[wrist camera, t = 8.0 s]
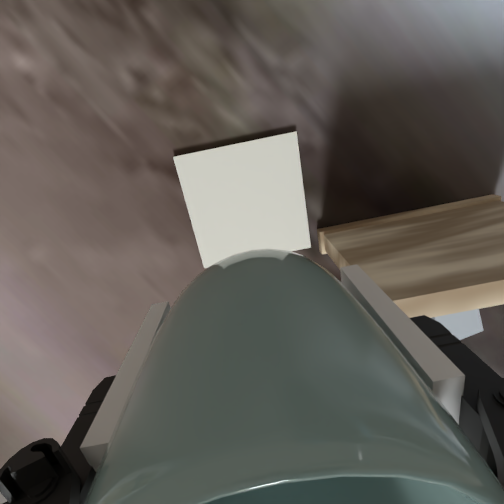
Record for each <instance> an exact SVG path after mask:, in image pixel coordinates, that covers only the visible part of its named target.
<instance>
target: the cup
mask: <svg viewBox="0 0 504 504" xmlns="http://www.w3.org/2000/svg"><path fill="white" fill-rule="evenodd" d="M84 504H504V488H503V487H502V485H501V483H500V482H499V480H498V479H497V477H496V476H495V475H494V473H493V472H492V470H491V469H490V467H489V466H488V464H487V463H486V461H485V460H484V458H483V457H482V456H481V454H480V453H479V451H478V450H477V449H476V447H475V446H474V445H473V443H472V442H471V441H470V439H469V438H468V437H467V435H466V434H465V432H464V431H463V430H462V428H461V427H460V426H459V425H458V423H457V422H456V421H455V419H454V418H453V417H452V415H451V414H450V413H449V412H448V410H447V409H446V408H445V406H444V405H443V404H442V402H441V401H440V400H439V399H438V397H437V396H436V395H435V394H434V392H433V391H432V390H431V388H430V387H429V386H428V385H427V383H426V382H425V381H424V379H423V378H422V377H421V376H420V374H419V373H418V372H417V371H416V369H415V368H414V367H413V365H412V364H411V363H410V362H409V360H408V359H407V358H406V357H405V355H404V354H403V353H402V351H401V350H400V349H399V348H398V346H397V345H396V344H395V343H394V341H393V340H392V339H391V338H390V337H389V335H388V334H387V333H386V332H385V330H384V329H383V328H382V327H381V326H380V324H379V323H378V322H377V321H376V320H375V318H374V317H373V316H372V315H371V314H370V312H369V311H368V310H367V309H366V308H365V307H364V306H363V305H362V304H361V302H360V301H359V300H358V299H357V298H356V297H355V296H354V295H353V294H352V293H351V292H350V291H349V290H348V289H347V288H346V287H345V286H344V285H343V284H342V283H341V282H340V281H339V280H338V279H337V278H336V277H335V276H334V275H332V274H331V273H330V272H329V271H328V270H326V269H325V268H324V267H322V266H320V265H319V264H317V263H315V262H314V261H312V260H310V259H309V258H307V257H305V256H303V255H300V254H297V253H294V252H290V251H287V250H280V249H268V248H266V249H255V250H248V251H244V252H241V253H237V254H233V255H231V256H229V257H227V258H224V259H222V260H220V261H218V262H216V263H214V264H213V265H211V266H210V267H208V268H207V269H205V270H204V271H202V272H201V273H200V274H199V275H198V276H197V277H195V278H194V279H193V280H192V281H191V282H190V283H189V284H188V285H187V287H186V288H185V289H184V290H183V291H182V292H181V293H180V295H179V296H178V298H177V299H176V301H175V302H174V304H173V306H172V307H171V309H170V310H169V312H168V314H167V315H166V317H165V319H164V320H163V322H162V324H161V326H160V328H159V329H158V331H157V333H156V335H155V337H154V339H153V341H152V343H151V345H150V347H149V349H148V352H147V354H146V356H145V358H144V360H143V363H142V365H141V367H140V369H139V372H138V374H137V376H136V379H135V381H134V383H133V386H132V388H131V390H130V393H129V395H128V397H127V400H126V402H125V405H124V407H123V409H122V412H121V414H120V416H119V419H118V421H117V424H116V426H115V428H114V431H113V433H112V436H111V438H110V441H109V443H108V445H107V448H106V450H105V453H104V455H103V458H102V460H101V462H100V465H99V467H98V470H97V472H96V475H95V477H94V480H93V482H92V485H91V487H90V490H89V492H88V495H87V498H86V500H85V503H84Z"/></svg>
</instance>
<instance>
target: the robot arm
mask: <svg viewBox="0 0 504 504" xmlns="http://www.w3.org/2000/svg"><path fill="white" fill-rule="evenodd" d="M340 271H341V282H342V284H343V285H344V286H345V287H346V288H347V289H348V290H349V291H350V292H351V293H352V294H353V295H354V296H355V297H356V298H357V299H358V300H359V301H360V302H361V304H362V305H363V306H364V307H365V308H366V309H367V310H368V311H369V312H370V314H371V315H372V316H373V317H374V318H375V320H376V321H377V322H378V323H379V324H380V326H381V327H382V328H383V329H384V330H385V332H386V333H387V334H388V335H389V337H390V338H391V339H392V340H393V341H394V343H395V344H396V345H397V346H398V348H399V349H400V350H401V351H402V353H403V354H404V355H405V357H406V358H407V359H408V360H409V362H410V363H411V364H412V365H413V367H414V368H415V369H416V371H417V372H418V373H419V374H420V376H421V377H422V378H423V379H424V381H425V382H426V383H427V385H428V386H429V387H430V388H431V390H432V391H433V392H434V394H435V395H436V396H437V397H438V399H439V400H440V401H441V402H442V404H443V405H444V406H445V408H446V409H447V410H448V412H449V413H450V414H451V415H452V417H453V418H454V419H455V421H456V422H457V423H458V425H459V426H460V427H461V428H462V430H463V431H464V432H465V434H466V435H467V437H468V438H469V439H470V441H471V442H472V443H473V445H474V446H475V447H476V449H477V450H478V451H479V453H480V454H481V456H482V457H483V458H484V460H485V461H486V463H487V464H488V466H489V467H490V469H491V470H492V472H493V473H494V475H495V476H496V477H497V479H498V480H499V482H500V483H501V485H502V487H503V488H504V378H501V377H500V376H499V375H498V374H497V373H496V372H494V371H493V370H492V369H491V368H490V367H489V366H488V365H487V364H486V363H484V362H483V361H482V360H481V359H480V358H479V357H478V356H477V355H476V354H474V353H473V352H472V351H471V350H470V349H469V348H468V347H467V346H466V345H464V344H462V343H461V341H460V340H459V339H458V338H457V337H455V336H454V335H452V334H451V332H450V331H449V330H448V329H447V328H445V327H444V326H443V325H442V324H441V323H440V322H438V321H436V320H434V319H432V318H430V317H427V316H425V315H422V316H417V317H412V318H409V317H408V316H407V315H406V314H405V313H404V312H403V311H402V310H401V309H400V308H399V307H398V306H397V305H396V304H395V303H394V302H393V301H392V300H391V299H390V298H389V297H388V296H387V295H386V294H385V293H384V292H383V290H382V289H381V288H380V287H379V286H378V285H377V284H376V283H375V282H374V281H373V280H372V279H371V278H370V277H369V276H368V275H367V274H366V273H365V272H364V271H363V270H362V269H361V268H360V267H359V266H358V265H357V264H356V265H351V266H346V267H340ZM170 309H171V308H170V305H169V302H163V303H158V304H153V305H151V307H150V309H149V311H148V313H147V315H146V317H145V319H144V321H143V323H142V325H141V327H140V329H139V331H138V333H137V335H136V337H135V339H134V341H133V343H132V345H131V347H130V349H129V351H128V353H127V355H126V357H125V359H124V361H123V363H122V365H121V367H120V369H119V371H118V373H117V375H116V376H111V377H105V378H104V379H103V380H102V381H101V382H100V384H99V385H98V386H97V387H96V388H95V389H94V390H93V391H92V393H91V395H90V397H89V398H88V400H87V402H86V406H84V407H83V409H82V411H81V412H80V414H79V418H77V420H76V421H75V423H74V425H73V427H72V428H71V430H70V432H69V434H68V435H67V437H66V439H65V441H64V442H63V444H62V446H61V447H60V445H59V444H58V442H57V441H55V440H54V439H53V438H44V439H41V440H38V441H35V442H32V443H31V444H29V445H27V446H26V447H24V448H22V449H21V450H20V451H18V452H17V453H16V454H15V455H14V456H12V457H11V458H10V459H9V460H8V461H7V462H6V463H5V465H4V466H3V467H2V468H1V469H0V492H1V493H2V494H3V496H4V497H5V498H6V499H7V502H5V503H3V504H84V503H85V500H86V498H87V495H88V492H89V490H90V487H91V485H92V482H93V480H94V477H95V475H96V472H97V470H98V467H99V465H100V462H101V460H102V458H103V455H104V453H105V450H106V448H107V445H108V443H109V441H110V438H111V436H112V433H113V431H114V428H115V426H116V424H117V421H118V419H119V416H120V414H121V412H122V409H123V407H124V405H125V402H126V400H127V397H128V395H129V393H130V390H131V388H132V386H133V383H134V381H135V379H136V376H137V374H138V372H139V369H140V367H141V365H142V363H143V360H144V358H145V356H146V354H147V352H148V349H149V347H150V345H151V343H152V341H153V339H154V337H155V335H156V333H157V331H158V329H159V328H160V326H161V324H162V322H163V320H164V319H165V317H166V315H167V314H168V312H169V310H170Z"/></svg>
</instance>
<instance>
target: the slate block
mask: <svg viewBox="0 0 504 504" xmlns="http://www.w3.org/2000/svg"><path fill="white" fill-rule="evenodd" d="M432 319H434V320H436V321H438V322H440V323H441V324H442V325H443V326H444V327H445V328H447V329H448V330H449V331H450V332H451V334H452V335H454V336H455V337H457V338H458V339H459V340H461V339H463V338H466V337H469V336H471V335H474V334H476V333H479V332H481V331H483V327H482V322H481V317H480V313H479V309H475V310H470V311H464V312H459V313H454V314H448V315H443V316H438V317H432Z"/></svg>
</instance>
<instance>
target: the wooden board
mask: <svg viewBox="0 0 504 504" xmlns="http://www.w3.org/2000/svg"><path fill="white" fill-rule="evenodd" d="M317 233H318V242H319V251H320V252H321V253H322V254H328V255H329V256H330V257H331V259H332V260H333V261H334V263H335V264H336V265H337V266H338V268H339V269H340V267H346V266H351V265H356V264H357V265H358V266H359V267H360V268H361V269H362V270H363V271H364V272H365V273H366V274H367V275H368V276H369V277H370V278H371V279H372V280H373V281H374V282H375V283H376V284H377V285H378V286H379V287H380V288H381V289H382V290H383V292H384V293H385V294H386V295H387V296H388V297H389V298H390V299H391V300H392V301H393V302H394V303H395V304H396V305H397V306H398V307H399V308H400V309H401V310H402V311H403V312H404V313H405V314H406V315H407V316H408V317H409V318H412V317H417V316H422V315H425V316H427V317H430V318H432V317H438V316H443V315H448V314H454V313H459V312H464V311H470V310H475V309H480V308H485V307H491V306H496V305H501V304H504V202H502V201H501V196H498V195H493V194H492V195H487V196H482V197H477V198H472V199H467V200H462V201H457V202H452V203H447V204H441V205H436V206H431V207H426V208H421V209H416V210H411V211H406V212H401V213H396V214H391V215H386V216H381V217H376V218H371V219H366V220H361V221H356V222H351V223H346V224H340V225H335V226H330V227H325V228H320V229H317Z"/></svg>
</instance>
